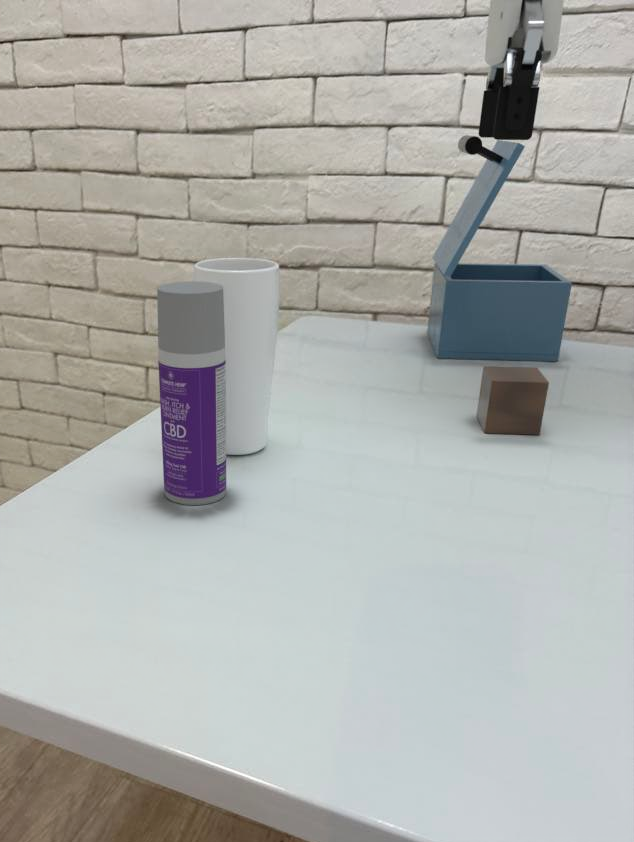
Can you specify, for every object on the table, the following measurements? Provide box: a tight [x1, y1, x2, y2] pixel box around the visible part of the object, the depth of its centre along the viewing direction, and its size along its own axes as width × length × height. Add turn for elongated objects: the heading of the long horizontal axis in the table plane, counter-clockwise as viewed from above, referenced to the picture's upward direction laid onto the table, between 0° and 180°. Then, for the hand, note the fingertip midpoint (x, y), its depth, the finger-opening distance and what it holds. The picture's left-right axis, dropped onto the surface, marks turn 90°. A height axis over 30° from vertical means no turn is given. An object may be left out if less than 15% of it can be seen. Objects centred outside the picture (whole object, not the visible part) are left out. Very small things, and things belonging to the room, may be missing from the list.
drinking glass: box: [193, 257, 281, 456], centre depth 67 cm, size 7×7×15 cm
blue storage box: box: [426, 262, 573, 362], centre depth 98 cm, size 14×13×9 cm
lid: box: [431, 134, 526, 278], centre depth 93 cm, size 15×13×5 cm
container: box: [156, 280, 227, 506], centre depth 58 cm, size 5×5×15 cm
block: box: [476, 365, 550, 436], centre depth 74 cm, size 5×5×5 cm
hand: (503, 138), depth 75 cm, fingers open, 9 cm apart
